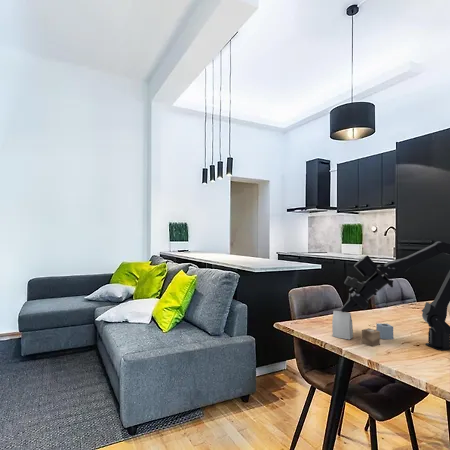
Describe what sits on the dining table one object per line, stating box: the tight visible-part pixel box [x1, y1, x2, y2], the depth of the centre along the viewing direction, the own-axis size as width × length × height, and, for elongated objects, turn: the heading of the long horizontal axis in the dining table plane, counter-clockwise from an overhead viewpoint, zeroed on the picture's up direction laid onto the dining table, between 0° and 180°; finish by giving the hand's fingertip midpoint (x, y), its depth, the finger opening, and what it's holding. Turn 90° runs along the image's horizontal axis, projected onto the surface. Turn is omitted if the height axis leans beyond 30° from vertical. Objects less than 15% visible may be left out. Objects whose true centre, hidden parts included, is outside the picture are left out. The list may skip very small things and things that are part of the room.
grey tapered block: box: [331, 310, 354, 340], centre depth 130 cm, size 4×7×10 cm, turn 51°
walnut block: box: [361, 328, 381, 347], centre depth 123 cm, size 4×4×5 cm
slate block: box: [375, 323, 394, 340], centre depth 131 cm, size 4×4×5 cm
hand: (341, 310), depth 131 cm, fingers closed, pressing on grey tapered block
